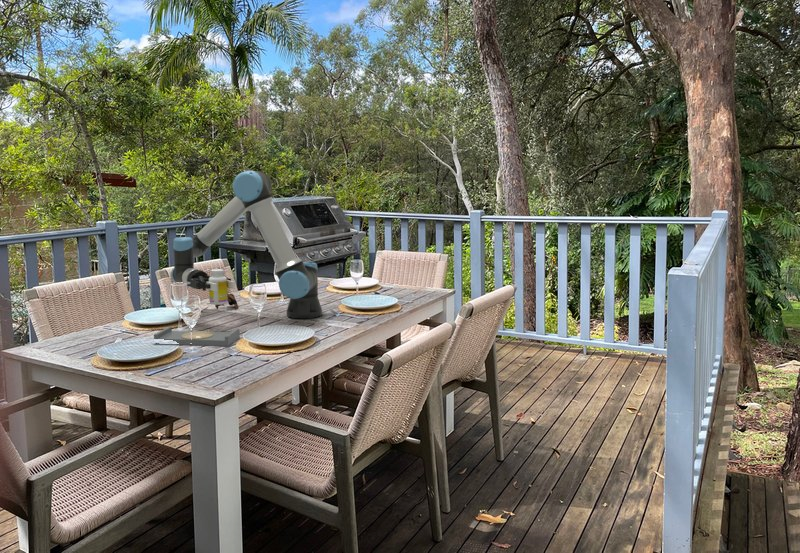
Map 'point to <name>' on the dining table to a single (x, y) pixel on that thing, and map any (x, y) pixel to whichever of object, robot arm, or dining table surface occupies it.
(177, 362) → the dining table surface
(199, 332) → the slate board
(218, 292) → the supplement bottle
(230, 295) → the brown arch
